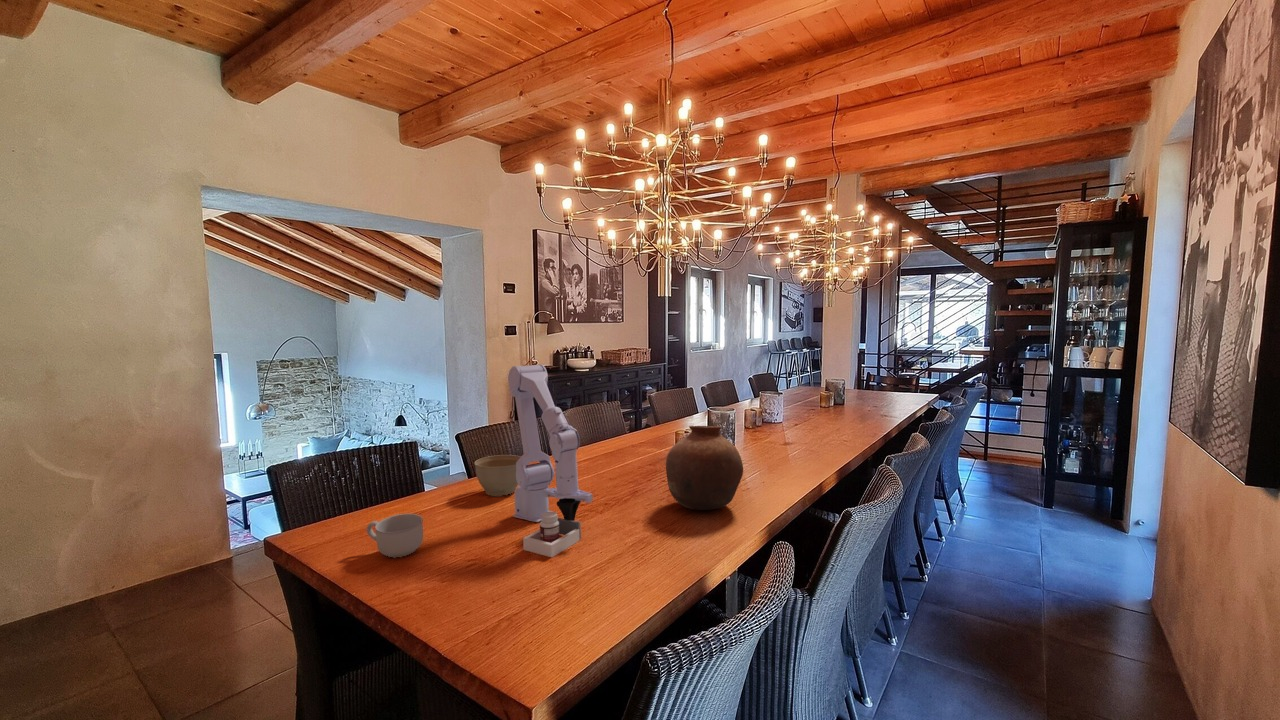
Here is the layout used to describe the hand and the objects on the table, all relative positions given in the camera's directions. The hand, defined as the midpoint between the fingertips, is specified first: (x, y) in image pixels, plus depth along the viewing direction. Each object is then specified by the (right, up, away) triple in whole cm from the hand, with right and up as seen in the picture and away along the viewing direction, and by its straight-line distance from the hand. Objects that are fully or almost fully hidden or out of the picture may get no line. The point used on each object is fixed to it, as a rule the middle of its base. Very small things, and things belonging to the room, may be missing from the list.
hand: (569, 525), depth 140 cm
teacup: (-42, -4, -9) cm, 43 cm away
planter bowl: (-28, 0, +36) cm, 45 cm away
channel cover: (-1, -2, -1) cm, 3 cm away
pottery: (+38, -1, +20) cm, 43 cm away
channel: (-3, -3, -6) cm, 7 cm away
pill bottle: (-4, -3, -7) cm, 9 cm away
